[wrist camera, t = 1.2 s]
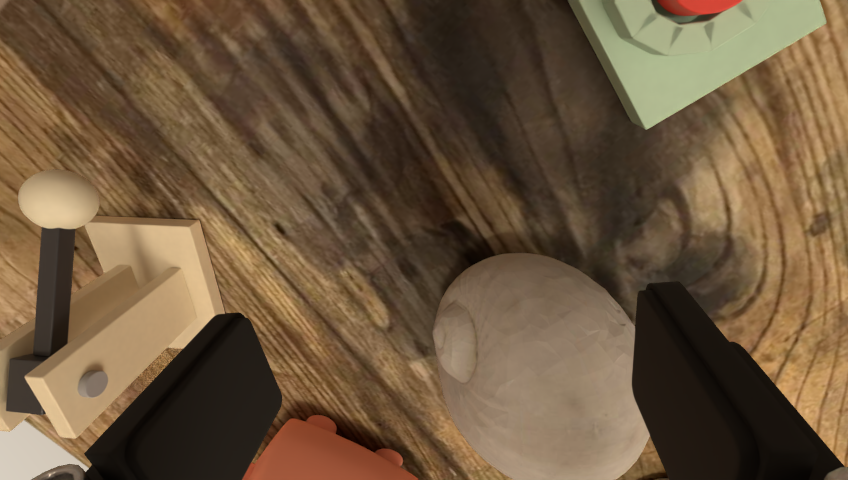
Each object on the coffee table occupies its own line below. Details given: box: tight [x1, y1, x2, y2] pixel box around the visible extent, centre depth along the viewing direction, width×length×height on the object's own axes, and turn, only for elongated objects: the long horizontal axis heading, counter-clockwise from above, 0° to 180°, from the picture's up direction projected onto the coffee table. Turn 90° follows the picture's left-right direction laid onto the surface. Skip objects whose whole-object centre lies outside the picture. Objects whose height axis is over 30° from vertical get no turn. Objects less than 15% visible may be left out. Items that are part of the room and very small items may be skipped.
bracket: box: [0, 216, 225, 439], centre depth 26 cm, size 11×8×12 cm
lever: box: [6, 169, 100, 415], centre depth 23 cm, size 13×3×3 cm, turn 0°
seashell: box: [433, 253, 650, 480], centre depth 27 cm, size 15×14×15 cm
